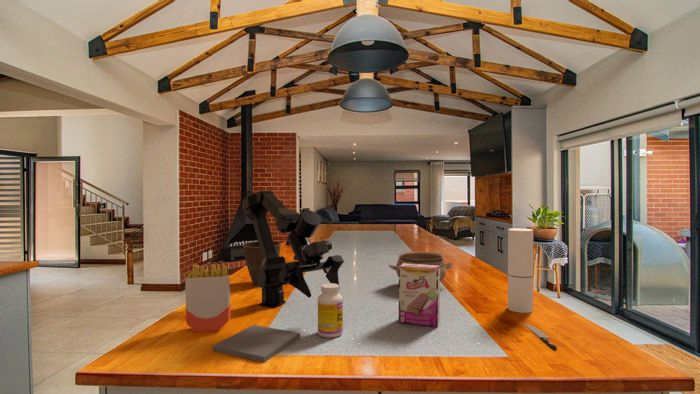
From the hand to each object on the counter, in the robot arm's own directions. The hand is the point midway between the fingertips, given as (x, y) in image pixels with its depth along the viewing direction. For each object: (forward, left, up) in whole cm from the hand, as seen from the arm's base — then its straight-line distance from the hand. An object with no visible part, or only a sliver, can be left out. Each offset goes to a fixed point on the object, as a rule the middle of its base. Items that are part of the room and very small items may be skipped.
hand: (324, 293), depth 103 cm
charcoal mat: (-11, -14, -10) cm, 21 cm away
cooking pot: (+13, +54, -10) cm, 56 cm away
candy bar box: (+22, +16, -10) cm, 29 cm away
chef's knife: (+53, +20, -11) cm, 58 cm away
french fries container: (-30, -11, -10) cm, 34 cm away
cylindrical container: (+48, +40, -10) cm, 63 cm away
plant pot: (-47, +35, -10) cm, 60 cm away
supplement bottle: (+2, -1, -10) cm, 11 cm away
